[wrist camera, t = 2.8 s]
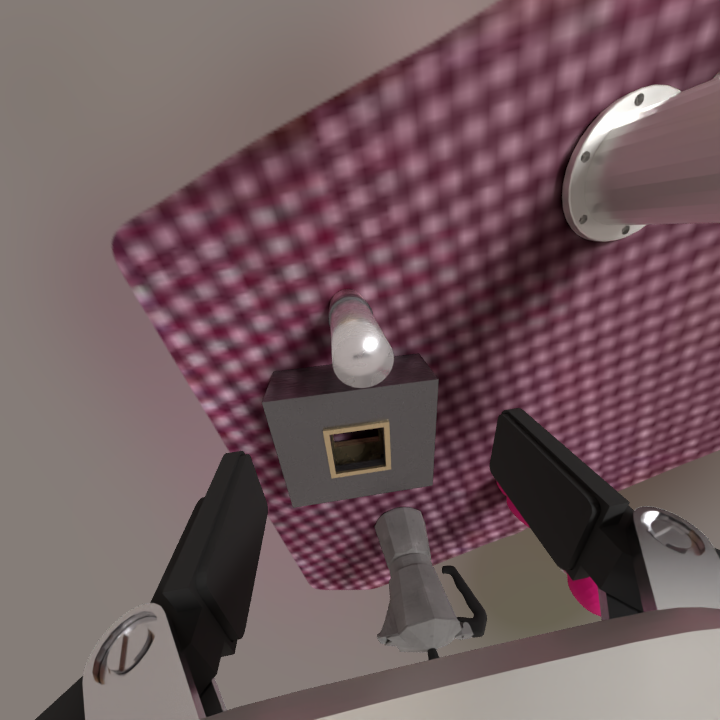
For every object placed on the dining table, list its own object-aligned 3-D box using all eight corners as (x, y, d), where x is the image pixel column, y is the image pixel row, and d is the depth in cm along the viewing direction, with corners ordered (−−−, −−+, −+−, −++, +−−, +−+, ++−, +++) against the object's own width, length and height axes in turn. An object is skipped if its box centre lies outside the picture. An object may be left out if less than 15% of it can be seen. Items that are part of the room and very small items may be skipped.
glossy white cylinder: (344, 279, 28) (359, 316, 16) (374, 304, 30) (409, 355, 17) (320, 310, 29) (316, 367, 17) (350, 332, 31) (366, 400, 18)
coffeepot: (361, 542, 49) (379, 694, 33) (365, 508, 45) (386, 662, 29) (441, 535, 51) (494, 675, 35) (451, 502, 47) (517, 643, 31)
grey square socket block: (418, 353, 33) (439, 380, 27) (417, 448, 40) (433, 487, 34) (273, 371, 32) (261, 404, 26) (297, 466, 39) (292, 509, 33)
